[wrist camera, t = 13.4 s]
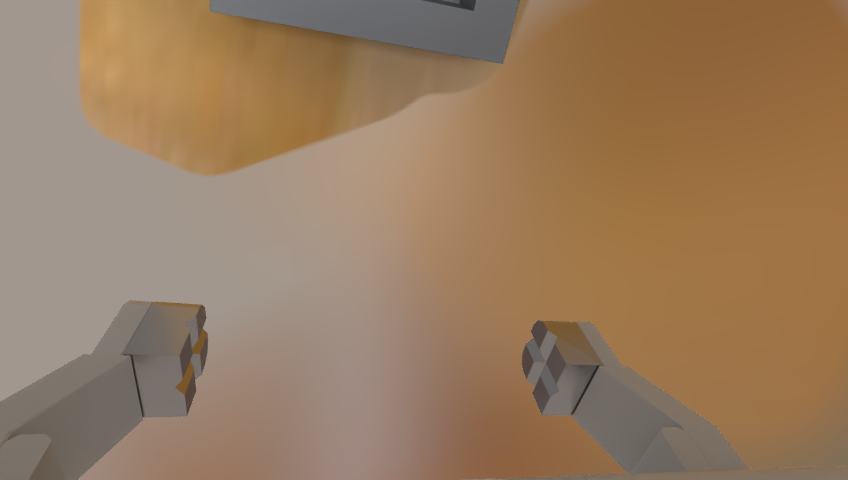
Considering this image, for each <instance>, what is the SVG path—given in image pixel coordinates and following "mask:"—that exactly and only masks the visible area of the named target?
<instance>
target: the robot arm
mask: <svg viewBox="0 0 848 480" xmlns="http://www.w3.org/2000/svg"><path fill="white" fill-rule="evenodd" d="M205 321H206V312H205V307H204V306H203V305H197V304H182V303H166V302H146V301H131V300H130V301H128V302H127V303H125V304H124V305H123V306H122V308H121V309H120V311H119V313H118V314H117V316H116V317H115V319H114V321H113V322H112V323H111V325H110V327H109V328H108V330H107V331H106V333H105V334H104V336H103V337H102V339H101V341H100V342H99V344H98V345H97V347H96V348H95V350H94V351H93V353H92V354H91V355H87V354H86V355H82V356H80V357H78V358H76V359H75V360H73V361H71V362H69V363H68V364H66V365H64V366H62V367H61V368H59V369H57V370H55V371H54V372H52V373H50V374H49V375H46V376H45V377H43V378H41V379H39V380H38V381H36V382H34V383H32V384H31V385H29V386H27V387H25V388H24V389H22V390H20V391H18V392H17V393H15V394H13V395H11V396H10V397H8V398H6V399H5V400H3V401H1V402H0V480H78V478H80V477H81V476H82V475H83V474H84V473H85V472H86V471H87V470H88V469H90V468H91V467H92V466H93V465H94V464H95V463H96V462H97V461H98V460H99V459H101V458H102V457H103V456H104V455H105V454H106V453H107V452H108V451H109V450H110V449H112V448H113V447H114V446H115V445H116V444H117V443H118V442H119V441H120V440H121V439H123V438H124V437H125V436H126V435H127V434H128V433H129V432H130V431H131V430H132V429H133V428H134V427H136V426H137V425H138V424H139V423H140V422H141V421H142V420H143V417H172V416H173V417H174V416H187V415H188V412H189V409H190V407H191V404H192V401H193V398H194V395H195V393H196V385H195V379H197V378H198V377H199V376H200V375H202V372H203V369H204V366H205V362H206V357H207V351H208V334H207V332H206V331H204V329H203V326H204V323H205ZM531 333H532V335H533V337H534V338H533V339H532V340H530V341H529V342H528V343H526V345H525V348H524V350H523V354H522V366H523V371H524V374H525V376H526V379H527V380H528V381H529V382H530V383H532V384H533V385H534V386H535V388H534V391H533V395H534V398H535V400H536V402H537V405H538V407H539V409H540V412H541V414H542V415H571V416H572V418H573V419H574V420H575V421H576V422H577V423H578V424H579V425H580V426H581V427H582V428H583V429H584V430H585V431H586V432H587V433H588V434H589V435H590V436H591V437H592V438H593V439H594V440H596V442H597V443H598V444H599V445H600V446H601V447H602V448H603V449H604V450H605V451H606V452H607V453H609V455H610V456H611V457H612V458H613V459H614V460H615V461H616V462H617V463H618V464H619V465H620V466H621V467H622V468H623V469H624V470H625V471H626V472H627V473H628V474H605V475H604V474H603V475H577V476H576V475H575V476H552V477H551V476H550V477H524V478H523V477H522V478H498V479H497V478H496V479H470V480H848V465H846V466H822V467H821V466H820V467H797V468H796V467H795V468H770V469H749V468H748V467H747V466H746V465H745V464H744V462H743V461H742V459H741V458H740V457H739V456H738V455H737V453H736V452H735V451H734V449H733V448H732V447H731V445H730V444H729V443H728V442H727V440H726V439H725V438H724V436H723V435H722V434H721V433H720V431H719V430H718V429H717V427H716V426H715V425H713V424H712V423H710V422H709V421H708V420H706V419H704V418H703V417H702V416H700V415H699V414H697V413H696V412H694V411H693V410H691V409H690V408H688V407H687V406H685V405H684V404H682V403H681V402H679V401H678V400H676V399H675V398H673V397H672V396H670V395H669V394H668V393H666V392H665V391H663V390H661V389H660V388H658V387H657V386H656V385H654V384H653V383H651V382H650V381H648V380H647V379H645V378H644V377H642V376H641V375H639V374H638V373H636V372H635V371H633V370H632V369H630V368H629V367H623V366H622V365H621V363H620V362H619V360H618V359H617V357H616V356H615V354H614V353H613V351H612V350H611V348H610V347H609V346H608V344H607V343H606V341H605V340H604V338H603V337H602V335H601V334H600V332H599V331H598V329H597V328H596V326H595V325H594V324H592V323H591V322H576V321H573V322H567V321H541V320H538V321H537V322H536V323H535V324H534V325H533V328H532V330H531Z"/></svg>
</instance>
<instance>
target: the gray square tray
mask: <svg viewBox="0 0 848 480" xmlns="http://www.w3.org/2000/svg"><path fill="white" fill-rule="evenodd" d="M519 1H520V0H210V11H211V12H217V13H222V14H228V15H233V16H239V17H245V18H250V19H256V20H261V21H267V22H272V23H278V24H284V25H289V26H295V27H300V28H306V29H311V30H317V31H323V32H328V33H334V34H339V35H345V36H350V37H356V38H362V39H367V40H373V41H378V42H384V43H389V44H395V45H401V46H406V47H412V48H417V49H423V50H429V51H434V52H440V53H445V54H451V55H456V56H462V57H468V58H473V59H479V60H484V61H490V62H495V63H501V64H503V62H504V58H505V54H506V50H507V46H508V43H509V39H510V35H511V31H512V27H513V24H514V20H515V16H516V12H517V9H518V5H519Z"/></svg>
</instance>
